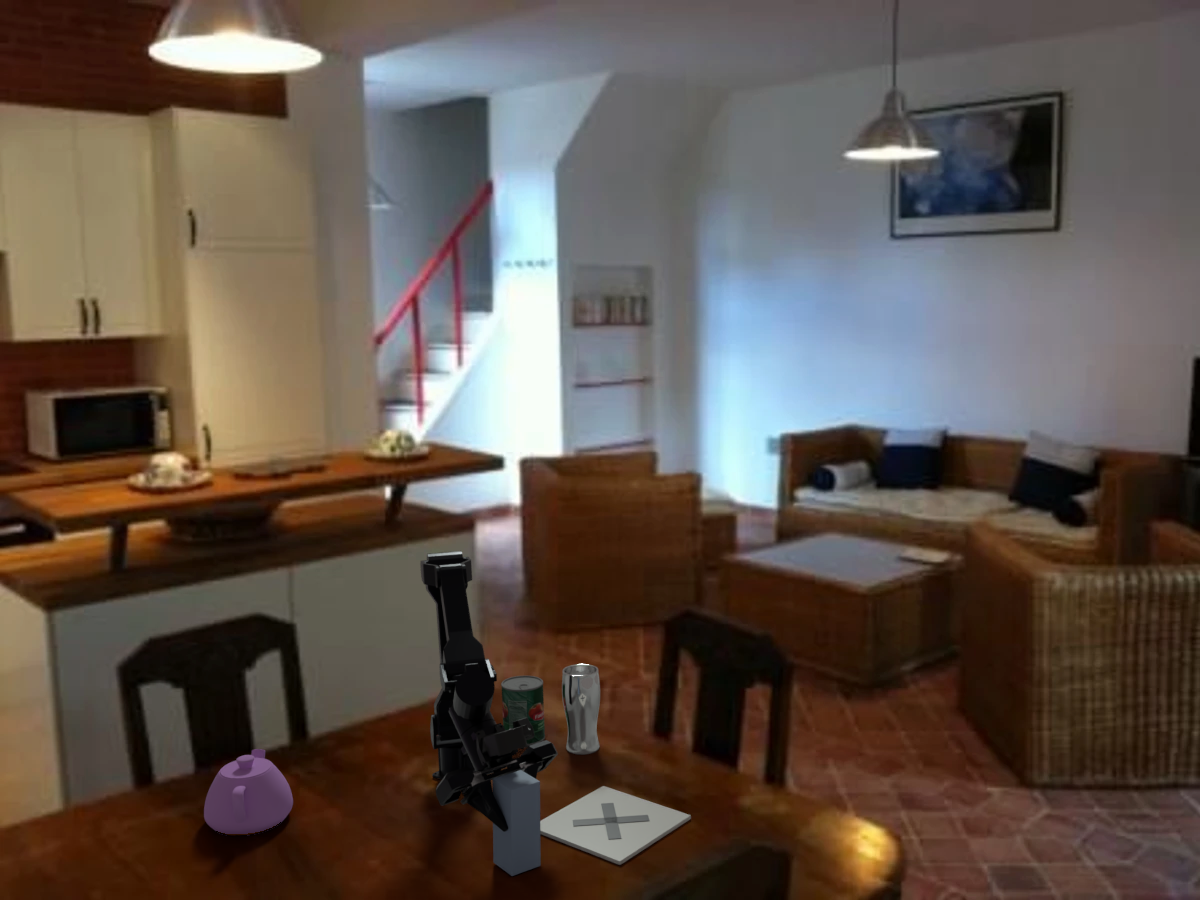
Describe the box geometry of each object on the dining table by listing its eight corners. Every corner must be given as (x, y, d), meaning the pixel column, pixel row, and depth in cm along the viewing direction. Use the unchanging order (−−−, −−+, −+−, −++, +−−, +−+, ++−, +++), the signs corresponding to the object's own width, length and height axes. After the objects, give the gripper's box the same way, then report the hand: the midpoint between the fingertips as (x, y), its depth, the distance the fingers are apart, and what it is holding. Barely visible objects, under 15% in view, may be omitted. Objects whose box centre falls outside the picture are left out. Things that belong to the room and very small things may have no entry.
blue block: (493, 862, 166) (492, 778, 164) (521, 852, 168) (521, 770, 167) (511, 876, 162) (510, 790, 160) (540, 865, 165) (539, 781, 163)
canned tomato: (500, 732, 215) (498, 677, 213) (540, 727, 217) (538, 673, 215) (507, 748, 207) (504, 691, 206) (548, 743, 209) (546, 687, 208)
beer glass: (597, 756, 203) (595, 677, 200) (560, 754, 204) (557, 675, 202) (605, 741, 209) (602, 664, 207) (568, 739, 211) (566, 662, 209)
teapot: (302, 787, 194) (298, 728, 192) (285, 843, 174) (280, 778, 172) (219, 793, 192) (215, 734, 190) (193, 851, 172) (187, 785, 171)
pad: (530, 830, 176) (530, 825, 176) (603, 789, 189) (603, 785, 189) (619, 865, 164) (619, 860, 164) (690, 818, 178) (690, 814, 178)
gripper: (441, 720, 159) (487, 821, 152) (548, 689, 170) (595, 781, 163) (417, 756, 166) (459, 854, 159) (521, 723, 178) (564, 813, 171)
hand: (521, 824), depth 163 cm, fingers closed on blue block, 5 cm apart
